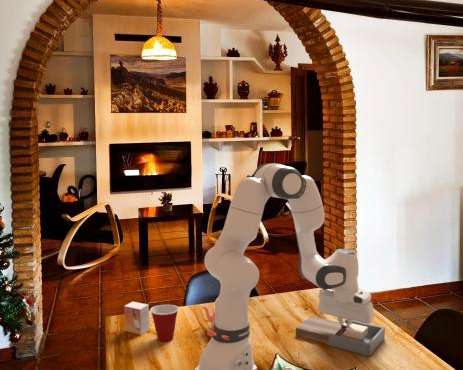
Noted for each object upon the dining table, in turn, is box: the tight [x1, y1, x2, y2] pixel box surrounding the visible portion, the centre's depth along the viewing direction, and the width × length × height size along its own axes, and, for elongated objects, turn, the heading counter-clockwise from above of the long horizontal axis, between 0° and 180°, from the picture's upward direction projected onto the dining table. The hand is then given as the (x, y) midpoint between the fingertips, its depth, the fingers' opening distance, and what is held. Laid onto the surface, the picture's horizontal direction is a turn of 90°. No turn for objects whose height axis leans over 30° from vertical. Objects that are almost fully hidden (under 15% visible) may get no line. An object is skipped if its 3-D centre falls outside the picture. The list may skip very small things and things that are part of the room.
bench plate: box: [295, 315, 345, 345], centre depth 188 cm, size 13×14×3 cm
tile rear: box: [346, 323, 368, 340], centre depth 180 cm, size 6×6×2 cm
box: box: [328, 318, 386, 358], centre depth 180 cm, size 16×15×4 cm
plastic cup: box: [149, 304, 180, 343], centre depth 186 cm, size 11×11×12 cm
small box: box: [123, 301, 151, 336], centre depth 193 cm, size 8×6×10 cm
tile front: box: [342, 331, 364, 341], centre depth 181 cm, size 6×6×2 cm
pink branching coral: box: [200, 305, 215, 331], centre depth 193 cm, size 12×18×10 cm, turn 81°
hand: (345, 328), depth 182 cm, fingers closed
